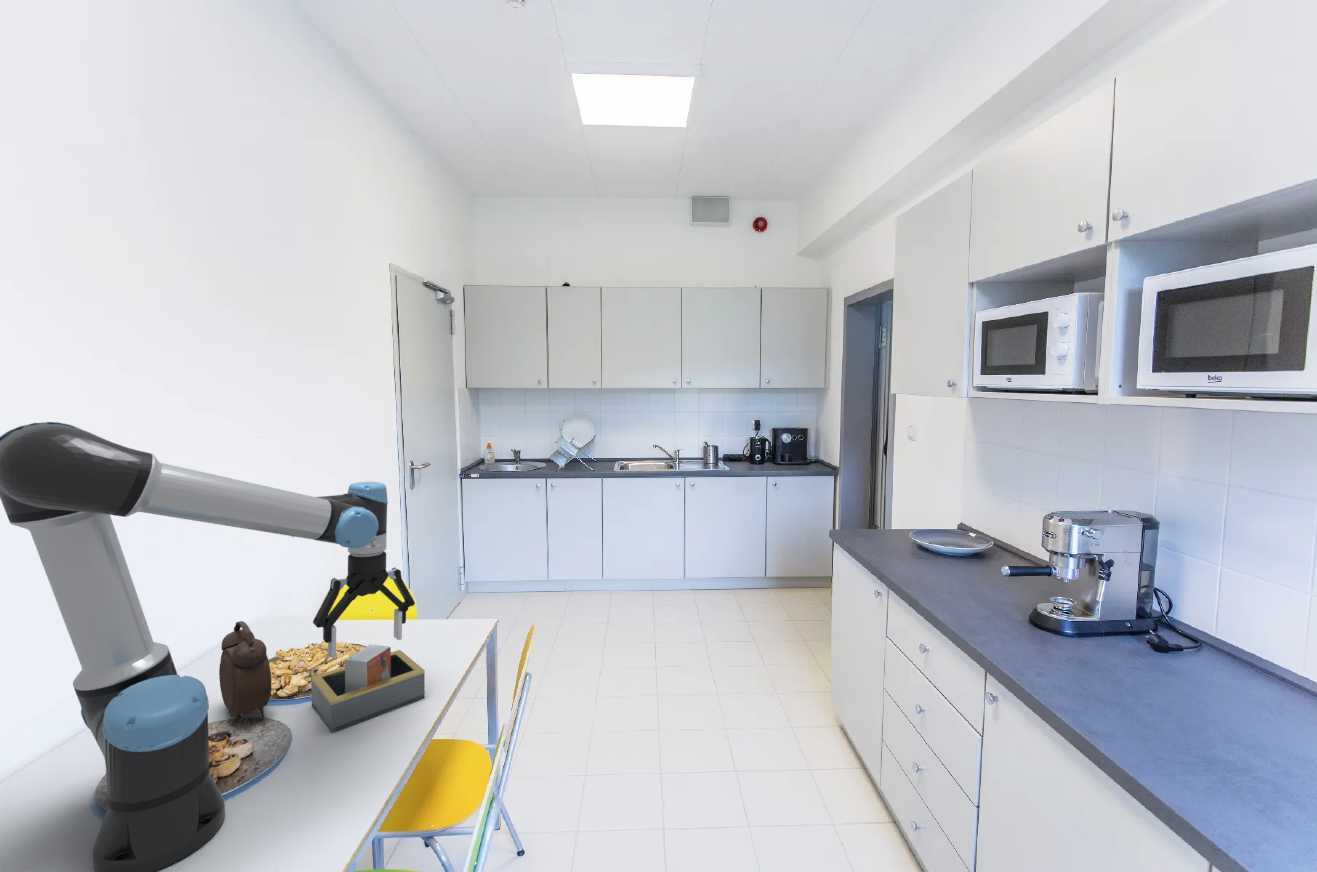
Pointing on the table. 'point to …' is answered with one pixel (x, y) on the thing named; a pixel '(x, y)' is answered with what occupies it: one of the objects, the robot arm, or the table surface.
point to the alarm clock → (244, 673)
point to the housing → (366, 694)
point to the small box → (367, 667)
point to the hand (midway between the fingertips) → (366, 646)
